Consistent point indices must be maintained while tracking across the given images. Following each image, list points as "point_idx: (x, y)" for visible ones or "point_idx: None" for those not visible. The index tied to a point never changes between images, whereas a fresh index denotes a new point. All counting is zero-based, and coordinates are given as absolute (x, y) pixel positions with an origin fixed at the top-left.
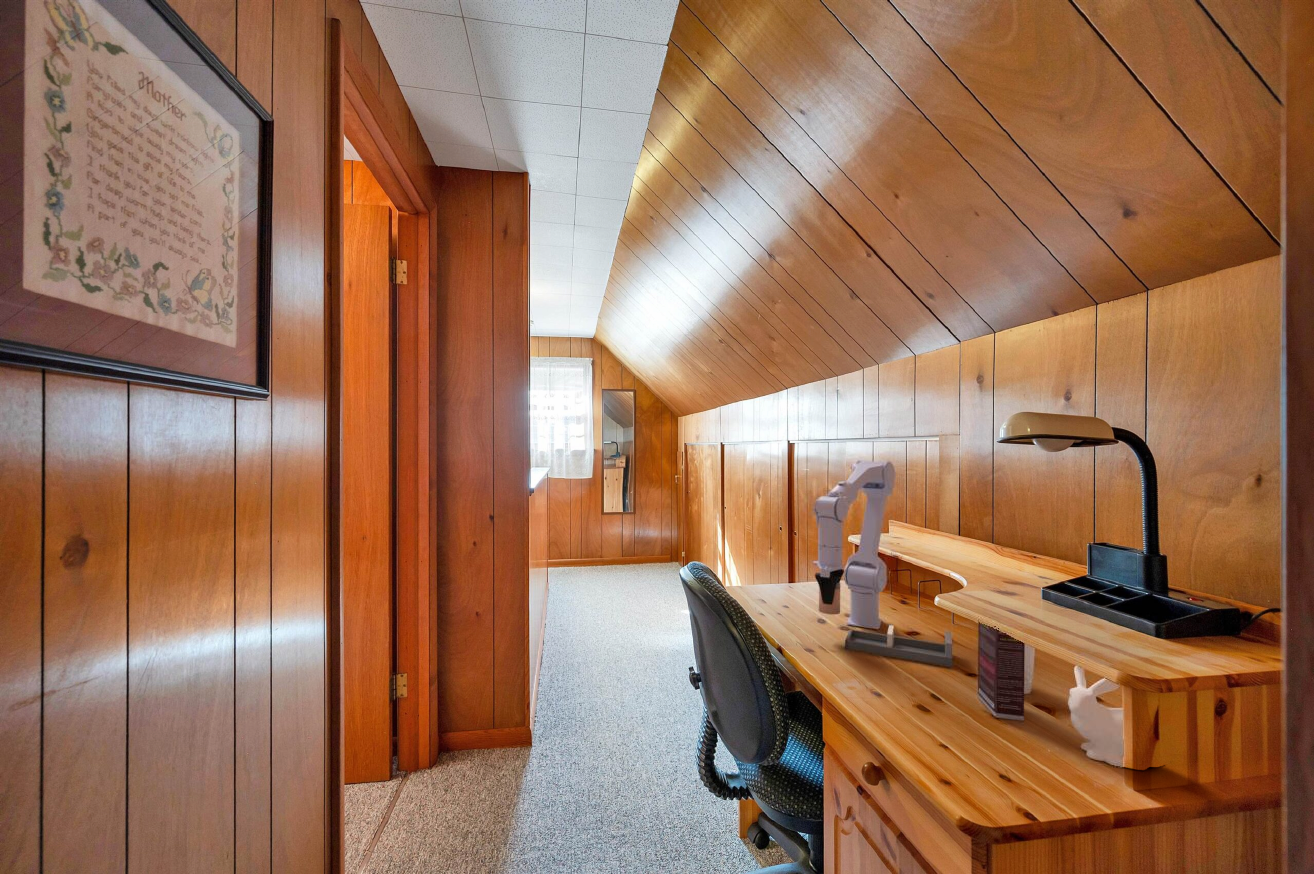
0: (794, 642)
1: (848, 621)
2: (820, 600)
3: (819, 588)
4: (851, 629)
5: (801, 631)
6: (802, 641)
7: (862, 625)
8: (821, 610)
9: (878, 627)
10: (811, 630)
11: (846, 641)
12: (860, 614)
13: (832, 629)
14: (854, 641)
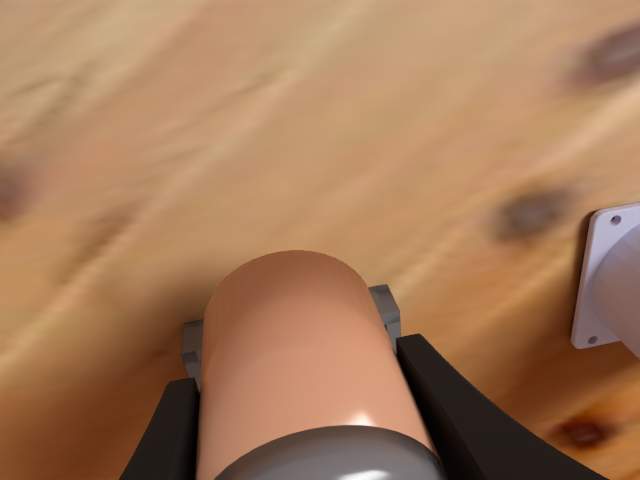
0: (52, 63)
1: (632, 212)
2: (221, 350)
3: (245, 430)
4: (396, 317)
5: (321, 16)
6: (118, 101)
7: (584, 287)
8: (211, 304)
9: (582, 346)
10: (385, 69)
11: (183, 355)
12: (632, 310)
13: (476, 170)
14: (199, 387)
